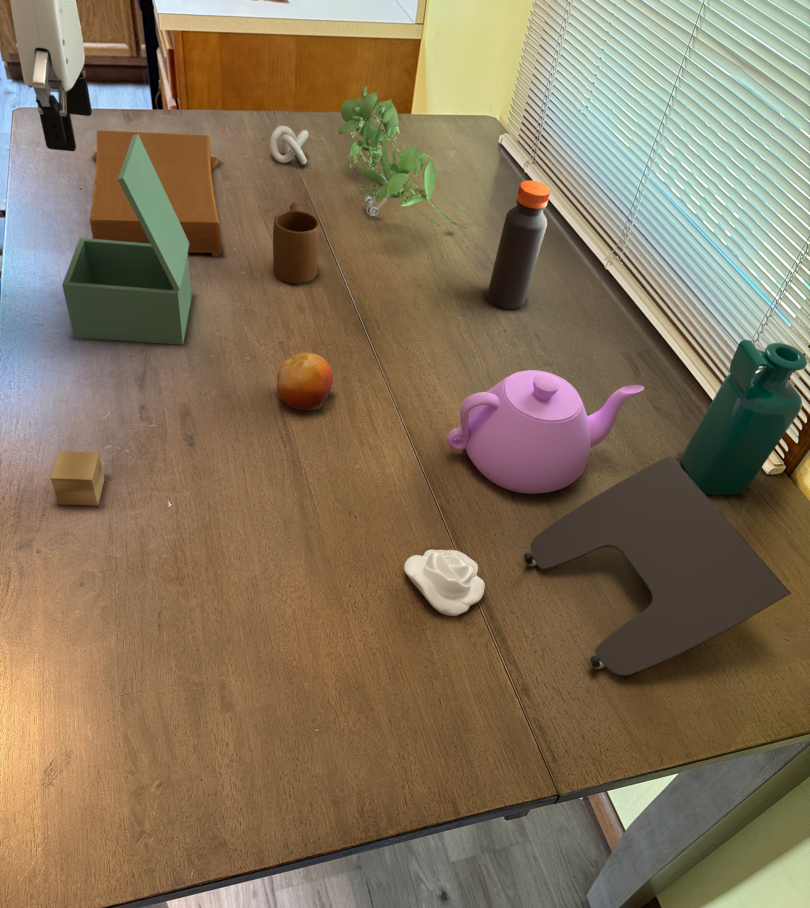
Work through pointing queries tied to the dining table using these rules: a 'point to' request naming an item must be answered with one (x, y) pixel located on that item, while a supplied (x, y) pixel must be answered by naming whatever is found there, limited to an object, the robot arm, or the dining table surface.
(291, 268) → the mug
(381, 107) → the plant cuttings
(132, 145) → the lid
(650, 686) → the dining table surface
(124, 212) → the wooden box
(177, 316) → the chest
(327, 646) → the dining table surface
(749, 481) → the dark green tall bottle
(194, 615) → the dining table surface
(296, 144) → the knot
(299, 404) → the fruit
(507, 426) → the teapot
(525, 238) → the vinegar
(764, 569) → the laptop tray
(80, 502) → the block
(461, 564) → the rose
